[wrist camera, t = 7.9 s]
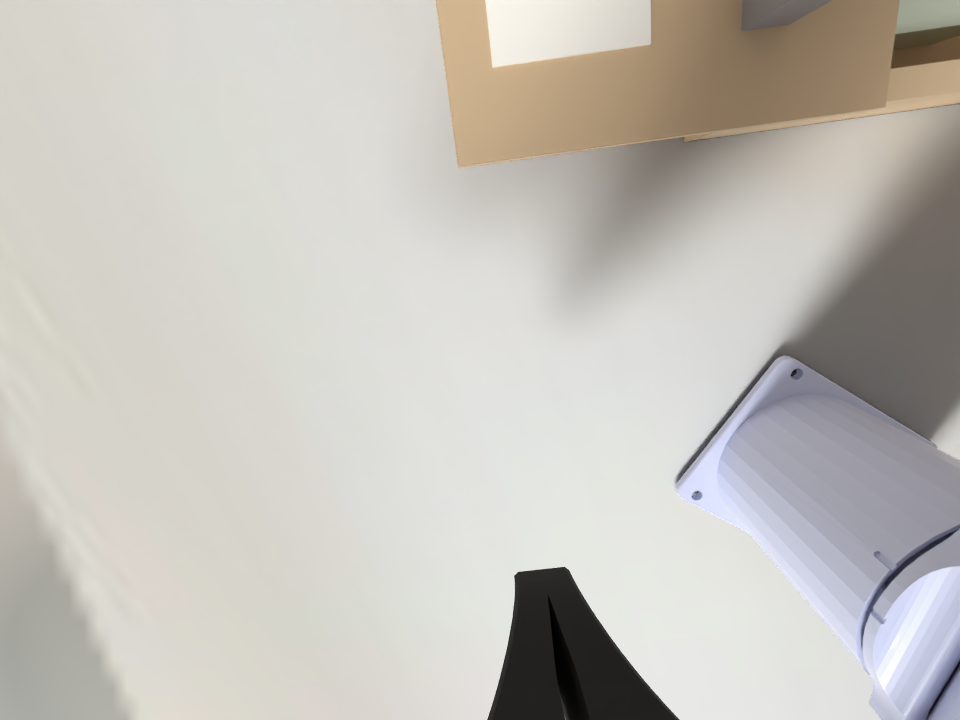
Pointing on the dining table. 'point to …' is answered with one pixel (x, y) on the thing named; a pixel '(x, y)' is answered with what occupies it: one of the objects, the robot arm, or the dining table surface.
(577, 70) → the sliding lid
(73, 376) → the dining table surface
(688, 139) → the wooden box
